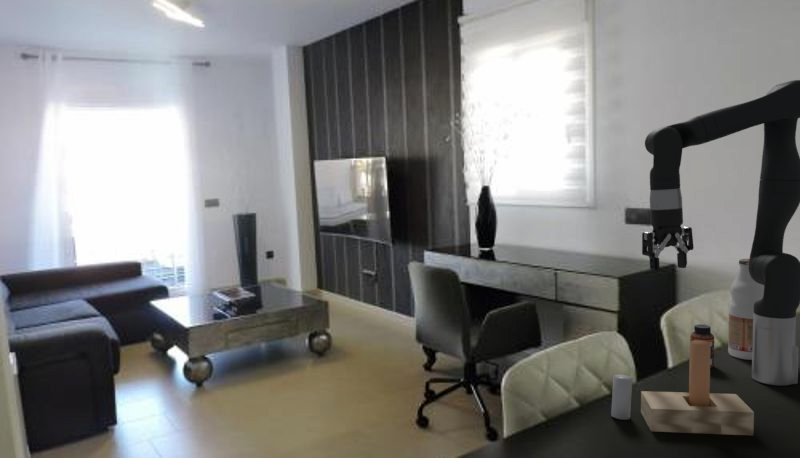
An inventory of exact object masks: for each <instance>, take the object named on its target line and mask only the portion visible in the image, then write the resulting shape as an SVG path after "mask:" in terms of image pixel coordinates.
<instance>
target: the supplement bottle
mask: <svg viewBox="0 0 800 458" xmlns="http://www.w3.org/2000/svg"><path fill="white" fill-rule="evenodd" d="M693 327H694V329H693V330H694V331H693V332H691V333H690V337H689V338H690V339H689V342H690V341H693V340H701V341H707V342H709V343H710V344H711V349H710V369H711V368H713V367H714V364H715V335H714V334H713V333H712V332H711V325H707V324H701V323H700V324H694V326H693Z"/></svg>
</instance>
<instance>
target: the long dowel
mask: <svg viewBox="0 0 800 458" xmlns="http://www.w3.org/2000/svg"><path fill="white" fill-rule="evenodd" d="M710 349H711V344H710V343H709V342H707V341H701V340H693V341H690V340H689V367H688V368H689V371H688V372H689V373H688V374H689V377H688V379H689V380H688V393H689V406H705V407H709V404H710V393H711V390H710V389H711V368H710Z"/></svg>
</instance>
